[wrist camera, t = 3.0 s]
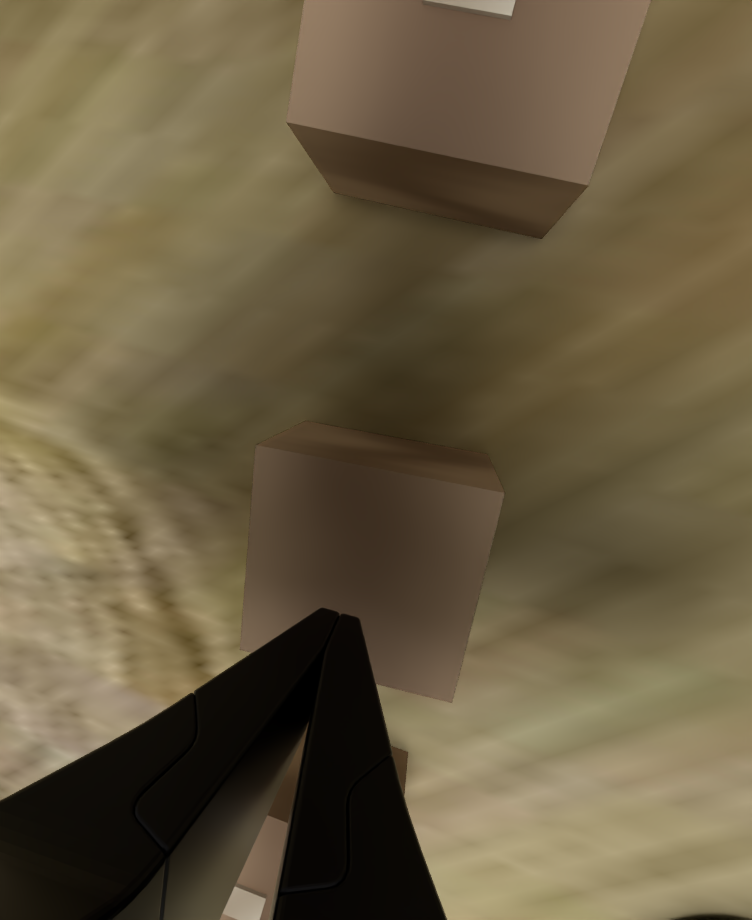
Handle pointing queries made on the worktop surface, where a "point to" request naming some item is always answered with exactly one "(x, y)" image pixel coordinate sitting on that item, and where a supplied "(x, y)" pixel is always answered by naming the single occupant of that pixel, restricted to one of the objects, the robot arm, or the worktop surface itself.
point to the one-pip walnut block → (462, 101)
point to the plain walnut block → (372, 546)
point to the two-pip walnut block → (275, 848)
